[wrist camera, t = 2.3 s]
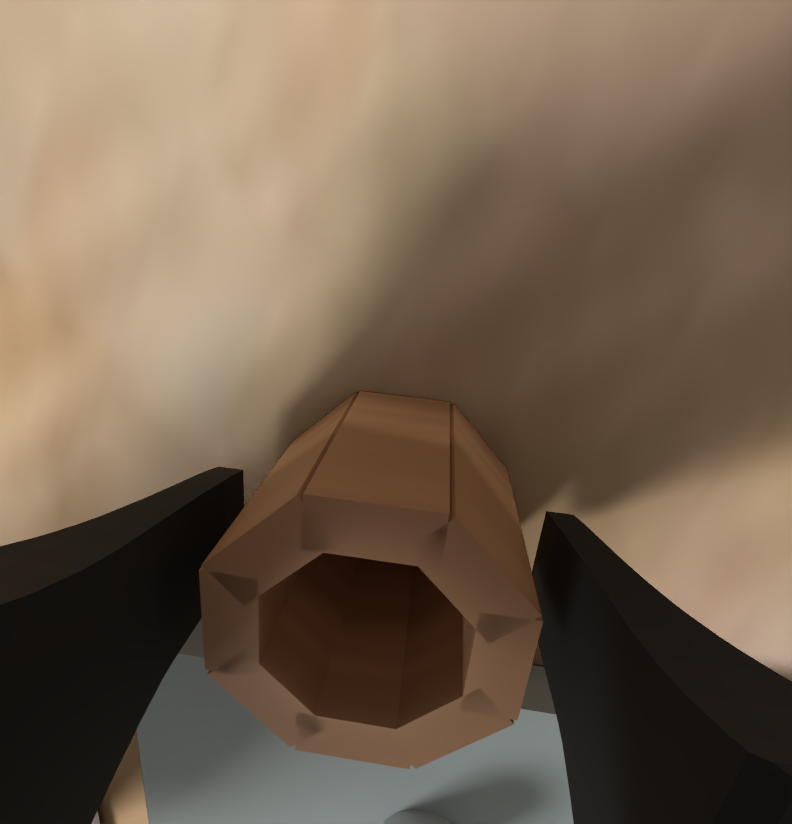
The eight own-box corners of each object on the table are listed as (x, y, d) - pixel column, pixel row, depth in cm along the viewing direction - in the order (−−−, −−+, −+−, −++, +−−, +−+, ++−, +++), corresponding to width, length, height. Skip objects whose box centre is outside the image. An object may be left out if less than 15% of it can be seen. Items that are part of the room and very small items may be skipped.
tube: (288, 567, 14) (208, 734, 9) (292, 382, 12) (192, 479, 7) (483, 596, 14) (501, 784, 9) (520, 411, 12) (567, 530, 7)
